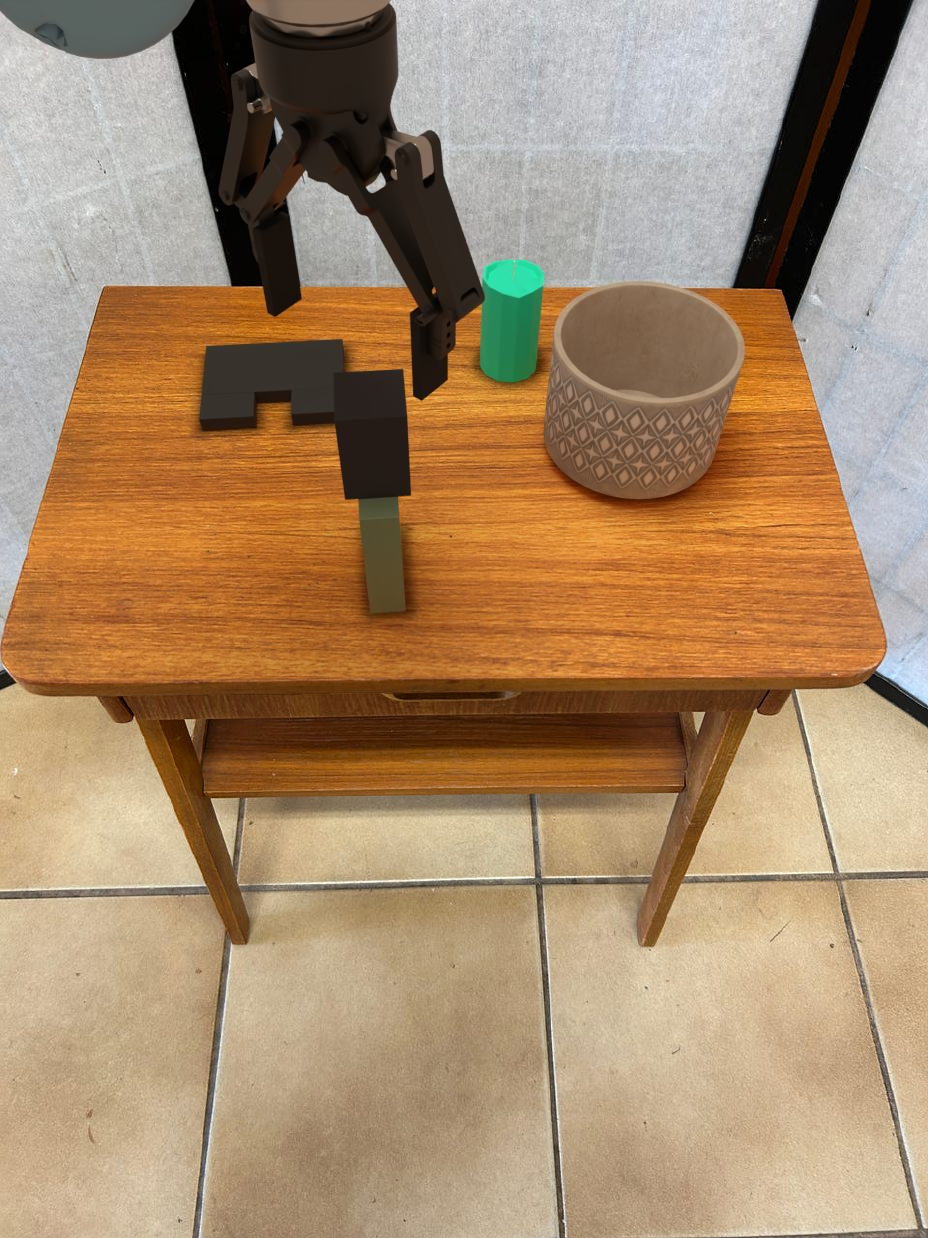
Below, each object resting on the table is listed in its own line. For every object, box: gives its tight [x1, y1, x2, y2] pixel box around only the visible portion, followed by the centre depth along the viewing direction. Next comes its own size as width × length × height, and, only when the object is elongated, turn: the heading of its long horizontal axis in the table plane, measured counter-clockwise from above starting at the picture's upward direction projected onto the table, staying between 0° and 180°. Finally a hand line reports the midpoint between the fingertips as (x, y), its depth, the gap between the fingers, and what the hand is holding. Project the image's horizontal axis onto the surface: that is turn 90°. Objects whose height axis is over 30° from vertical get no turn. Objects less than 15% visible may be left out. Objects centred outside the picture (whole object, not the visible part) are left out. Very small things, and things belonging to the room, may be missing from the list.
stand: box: [357, 497, 407, 615], centre depth 78 cm, size 3×9×12 cm, turn 5°
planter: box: [542, 280, 746, 500], centre depth 87 cm, size 16×16×13 cm
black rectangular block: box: [333, 368, 412, 501], centre depth 71 cm, size 5×8×8 cm, turn 5°
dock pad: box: [198, 338, 346, 431], centre depth 96 cm, size 14×11×2 cm
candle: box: [479, 258, 545, 384], centre depth 94 cm, size 6×6×12 cm
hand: (355, 345), depth 66 cm, fingers open, 13 cm apart
